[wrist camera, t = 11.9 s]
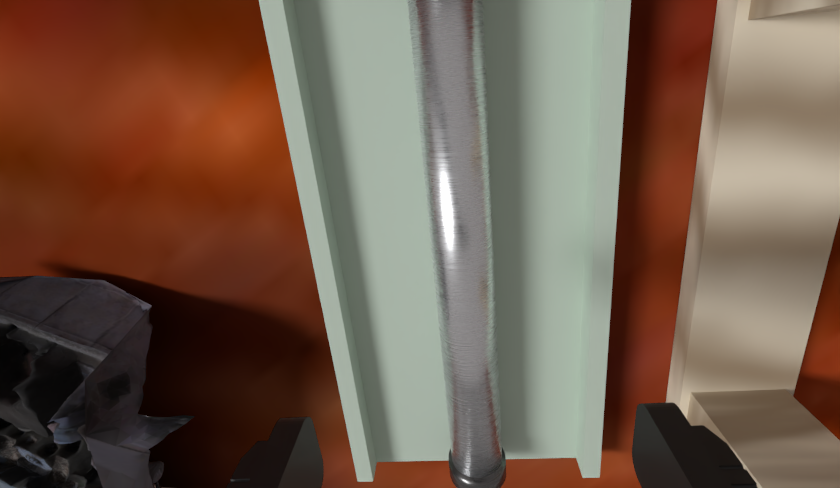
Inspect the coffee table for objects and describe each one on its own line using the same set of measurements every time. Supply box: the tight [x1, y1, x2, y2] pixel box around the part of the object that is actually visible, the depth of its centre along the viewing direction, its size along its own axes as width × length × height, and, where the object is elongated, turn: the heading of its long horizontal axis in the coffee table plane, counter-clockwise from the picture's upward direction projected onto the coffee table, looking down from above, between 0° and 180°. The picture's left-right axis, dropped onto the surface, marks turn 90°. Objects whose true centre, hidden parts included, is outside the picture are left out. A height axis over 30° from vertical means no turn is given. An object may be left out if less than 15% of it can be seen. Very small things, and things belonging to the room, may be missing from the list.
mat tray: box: [259, 0, 631, 482], centre depth 23 cm, size 30×15×2 cm, turn 6°
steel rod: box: [407, 0, 506, 488], centre depth 22 cm, size 28×3×3 cm, turn 6°
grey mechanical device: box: [0, 276, 195, 488], centre depth 26 cm, size 18×20×9 cm
